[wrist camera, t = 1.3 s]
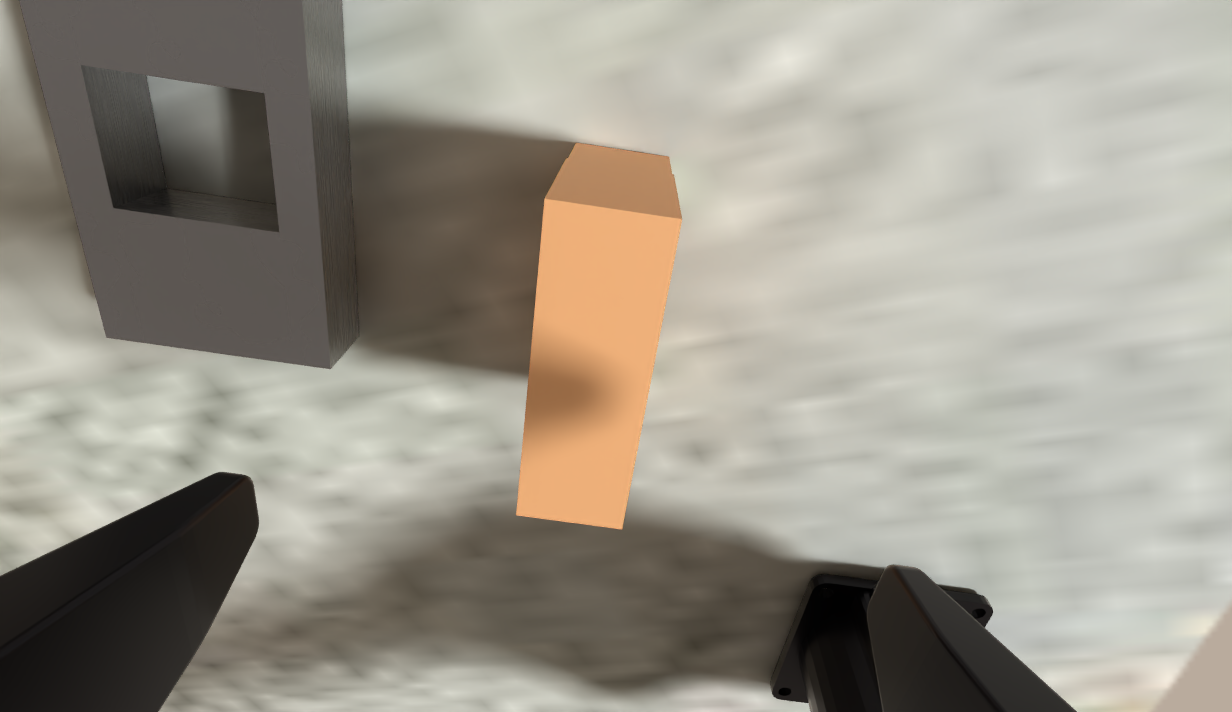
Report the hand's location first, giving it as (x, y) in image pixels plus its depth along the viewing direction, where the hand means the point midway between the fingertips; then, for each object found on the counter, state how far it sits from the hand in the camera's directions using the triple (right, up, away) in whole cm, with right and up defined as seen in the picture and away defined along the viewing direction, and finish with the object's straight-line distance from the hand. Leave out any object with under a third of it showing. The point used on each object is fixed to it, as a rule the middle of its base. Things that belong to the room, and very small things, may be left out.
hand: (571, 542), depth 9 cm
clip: (0, +5, +9) cm, 10 cm away
